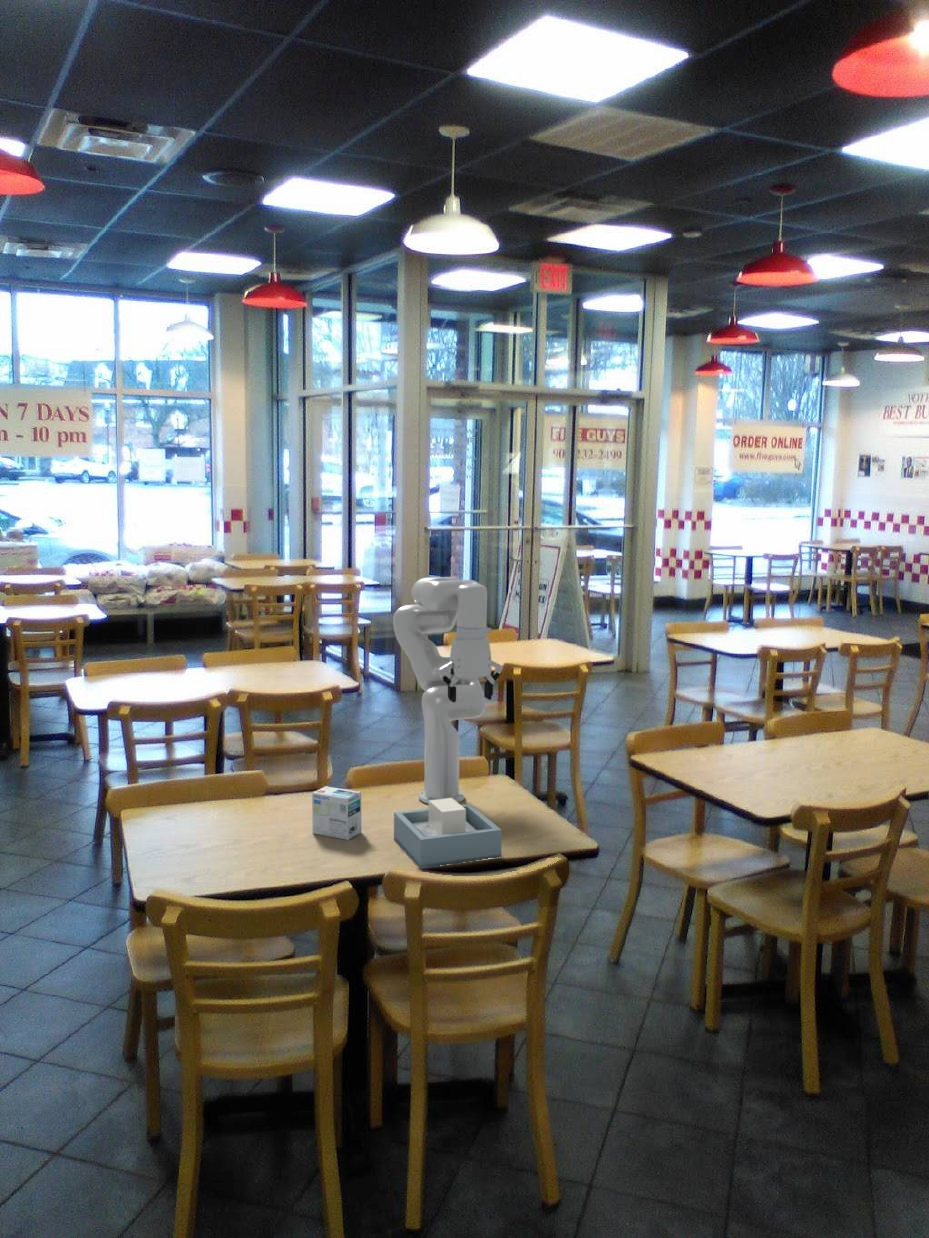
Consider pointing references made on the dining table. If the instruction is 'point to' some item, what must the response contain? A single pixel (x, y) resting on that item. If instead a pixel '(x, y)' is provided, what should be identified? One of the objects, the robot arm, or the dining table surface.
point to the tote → (447, 839)
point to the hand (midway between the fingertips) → (470, 699)
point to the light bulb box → (336, 812)
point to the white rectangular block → (447, 816)
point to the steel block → (429, 831)
